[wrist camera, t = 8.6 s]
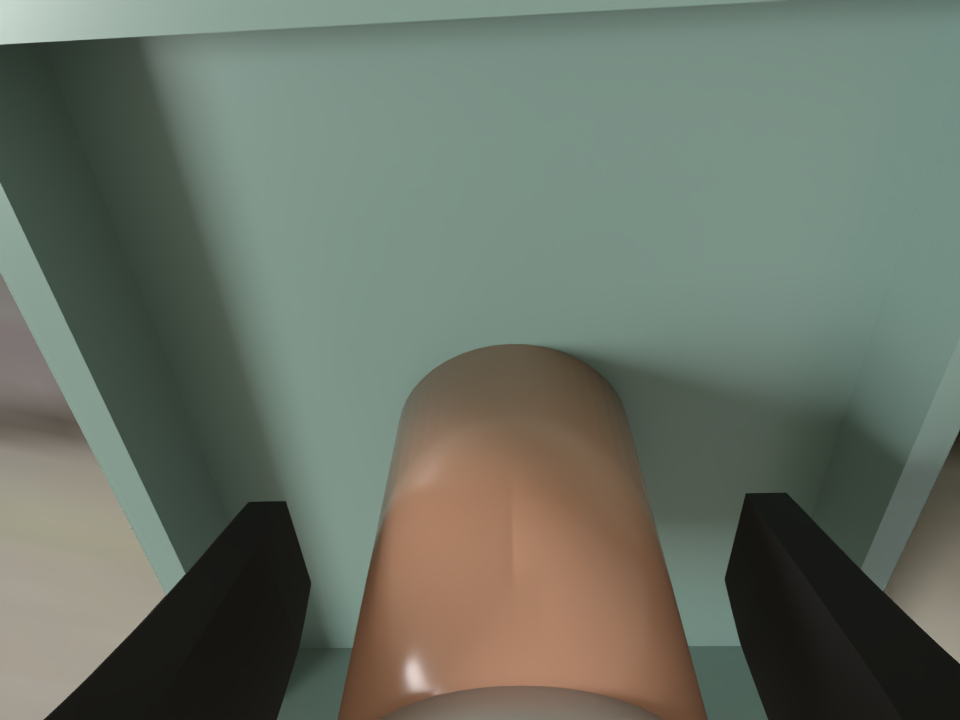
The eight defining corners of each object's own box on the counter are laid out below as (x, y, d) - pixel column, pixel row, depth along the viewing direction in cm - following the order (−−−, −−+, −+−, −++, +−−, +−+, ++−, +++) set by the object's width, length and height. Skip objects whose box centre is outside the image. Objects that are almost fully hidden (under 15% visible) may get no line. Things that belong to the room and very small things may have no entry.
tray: (1029, -85, 8) (1204, -92, 6) (778, 638, 17) (816, 735, 15) (3, -22, 9) (-145, -10, 7) (268, 641, 18) (237, 733, 16)
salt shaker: (636, 338, 11) (780, 758, 6) (621, 517, 14) (709, 935, 8) (382, 349, 12) (265, 760, 6) (413, 523, 14) (353, 931, 8)
